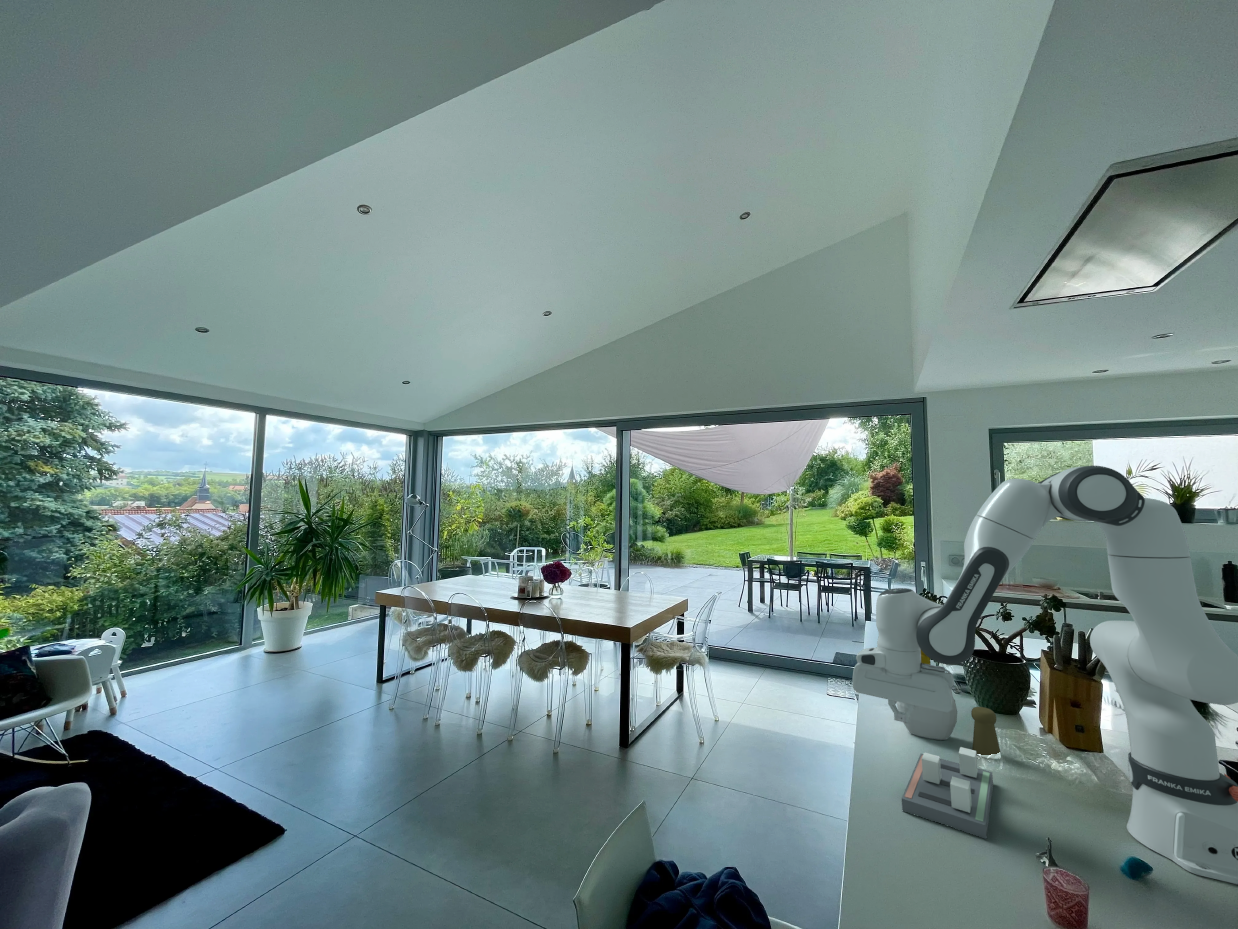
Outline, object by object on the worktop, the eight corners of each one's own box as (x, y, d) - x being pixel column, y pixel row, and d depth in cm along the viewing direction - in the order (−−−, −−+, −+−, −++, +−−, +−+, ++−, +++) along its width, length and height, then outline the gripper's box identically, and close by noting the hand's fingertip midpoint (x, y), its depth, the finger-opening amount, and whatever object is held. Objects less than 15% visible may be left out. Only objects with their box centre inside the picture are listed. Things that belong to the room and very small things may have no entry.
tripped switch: (941, 777, 109) (939, 756, 109) (939, 784, 106) (937, 763, 107) (925, 772, 111) (924, 752, 111) (923, 779, 108) (921, 758, 109)
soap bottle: (898, 737, 134) (891, 639, 137) (898, 724, 142) (892, 632, 144) (961, 749, 127) (953, 645, 129) (958, 735, 135) (950, 638, 137)
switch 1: (977, 771, 111) (976, 750, 112) (976, 778, 108) (974, 757, 109) (961, 767, 113) (960, 747, 114) (960, 773, 110) (958, 753, 111)
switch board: (993, 783, 111) (992, 771, 111) (986, 839, 93) (985, 824, 93) (921, 764, 120) (920, 753, 120) (902, 811, 102) (901, 797, 102)
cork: (1007, 760, 121) (1003, 714, 122) (979, 758, 122) (975, 712, 123) (993, 749, 127) (990, 704, 128) (967, 747, 128) (964, 703, 129)
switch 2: (971, 804, 99) (969, 781, 99) (970, 813, 96) (968, 789, 97) (953, 799, 101) (952, 776, 101) (951, 807, 98) (950, 784, 99)
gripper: (954, 665, 110) (958, 729, 109) (856, 648, 123) (858, 705, 122) (951, 672, 105) (955, 739, 104) (849, 654, 118) (851, 714, 117)
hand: (902, 721), depth 113 cm, fingers closed
